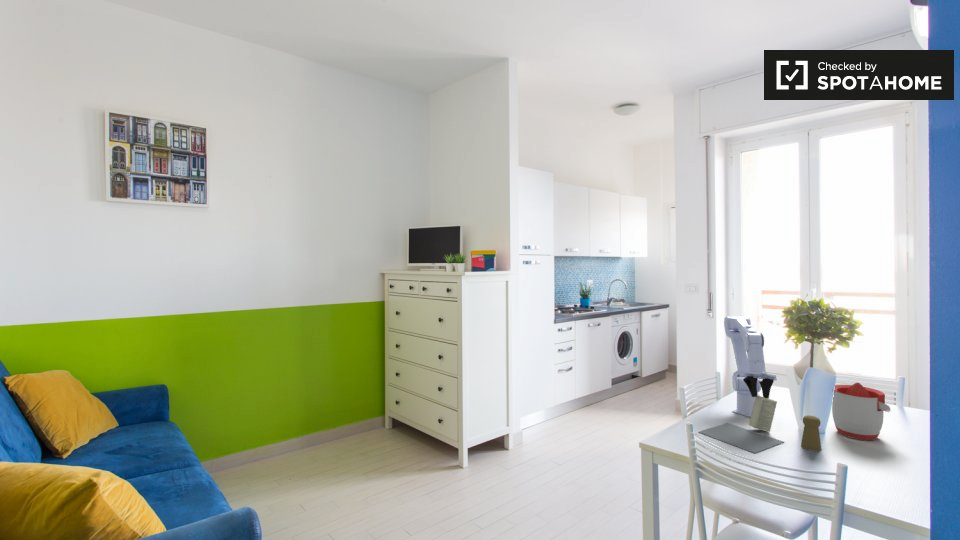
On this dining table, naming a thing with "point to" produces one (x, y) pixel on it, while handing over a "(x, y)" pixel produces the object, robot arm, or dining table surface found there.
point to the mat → (741, 437)
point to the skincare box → (762, 413)
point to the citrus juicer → (858, 411)
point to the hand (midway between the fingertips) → (760, 397)
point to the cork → (811, 433)
